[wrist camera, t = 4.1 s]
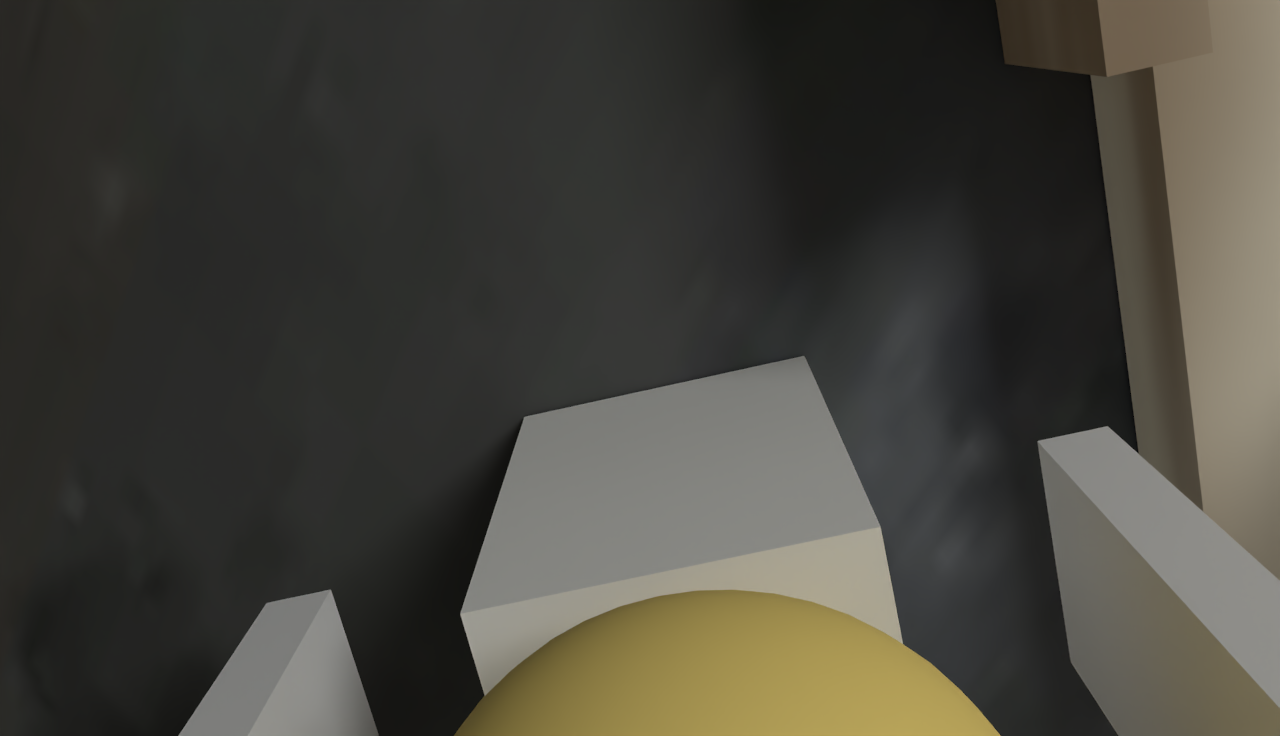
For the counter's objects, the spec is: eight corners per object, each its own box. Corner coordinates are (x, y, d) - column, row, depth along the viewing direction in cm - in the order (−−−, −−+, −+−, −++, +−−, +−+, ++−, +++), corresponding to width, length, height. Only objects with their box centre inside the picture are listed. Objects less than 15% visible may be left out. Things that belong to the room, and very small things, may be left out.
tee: (591, 664, 17) (563, 957, 12) (523, 416, 16) (459, 613, 11) (856, 612, 17) (950, 886, 12) (803, 355, 16) (881, 526, 11)
